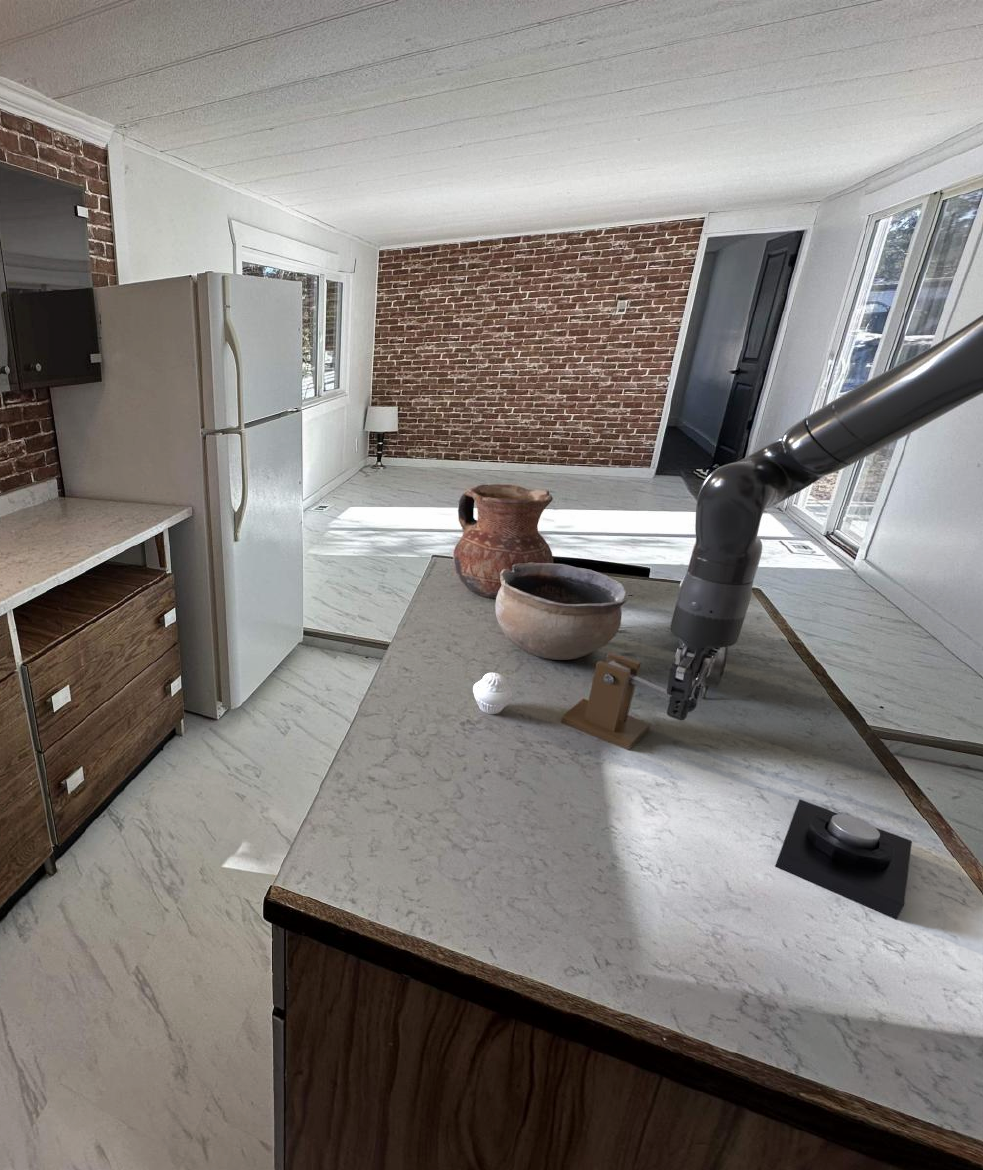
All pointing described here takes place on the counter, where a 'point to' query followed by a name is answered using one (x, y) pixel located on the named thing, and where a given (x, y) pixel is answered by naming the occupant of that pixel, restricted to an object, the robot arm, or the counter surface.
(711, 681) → the alarm clock
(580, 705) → the lever bracket
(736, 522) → the robot arm
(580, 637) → the ceramic bowl
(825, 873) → the button base
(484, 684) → the muffin
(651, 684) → the ball knob lever
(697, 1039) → the counter surface
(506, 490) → the jug
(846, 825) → the grey push button
